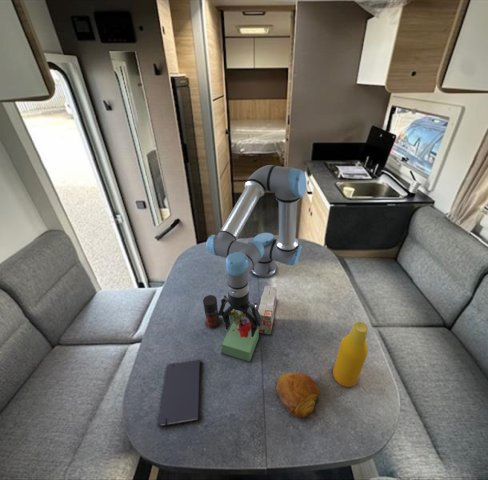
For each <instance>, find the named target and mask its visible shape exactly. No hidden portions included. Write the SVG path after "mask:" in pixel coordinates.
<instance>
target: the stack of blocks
mask: <svg viewBox="0 0 488 480" xmlns="http://www.w3.org/2000/svg"><path fill="white" fill-rule="evenodd" d="M277 297H278V287H277V286H268V285H264V288H263V293H262V294H261V297H260V304H259V305H258V312H259V314H260V317H261V319H262V323H261V326H260V327H259V326H257V329H259V334H263V335H269V336H271V333H272V329H273V323H274V318H275V310H276V306H277Z"/></svg>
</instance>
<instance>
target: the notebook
mask: <svg viewBox="0 0 488 480" xmlns="http://www.w3.org/2000/svg"><path fill="white" fill-rule="evenodd" d="M200 373H201V361H200V359H197V360H189V361H182V362H176V363H175V362H174V363H169V364H167V365H166V370H165V377H164V383H163V392H162V397H161V405H160V410H159V411H160V412H159V417H158V424H159V426H160V427H165V426H171V425H172V426H173V425H177V424H183V423H189V422H196V421H199V402H200V401H199V400H200V376H201V375H200Z"/></svg>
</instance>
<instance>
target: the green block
mask: <svg viewBox="0 0 488 480" xmlns="http://www.w3.org/2000/svg"><path fill="white" fill-rule="evenodd" d="M236 326H237V325H236V324H235V323H234V322H233V321H232V323H231V324H230V326H229V328H228V330H227V333H226V335H225V337H224V339H223V341H222V343H221V349H222V354H224V355H228V356H230V357H234V358H237V359H240V360H244V361H247V362H251V360H252V357H253V354H254V352H255V349H256V346H257V344H258V340H259V338H260V333H259V329H257V330H256V331H255V334H254V336H253V337H251V330H250V331H249V332H248V334H249V335H248V337H247V338H246V337H242V338H241V337H240V332H239V331H238V330H237V329H236ZM232 330H235V331H232Z"/></svg>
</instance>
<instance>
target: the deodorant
mask: <svg viewBox="0 0 488 480" xmlns="http://www.w3.org/2000/svg"><path fill="white" fill-rule="evenodd" d="M217 299H218V298H217V296H215V295H212V294H208V295H206V296H205V297H203V299H202V304H203V310H204V315H205V316H204V317H205V322H206V326H207V328H210V329H214V328H217V327H218V326H219V325H220V316H219V315H218V313H219V308H218V300H217Z"/></svg>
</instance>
